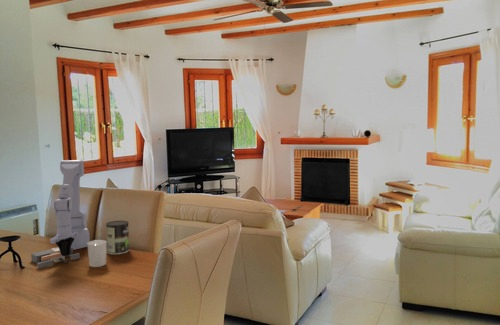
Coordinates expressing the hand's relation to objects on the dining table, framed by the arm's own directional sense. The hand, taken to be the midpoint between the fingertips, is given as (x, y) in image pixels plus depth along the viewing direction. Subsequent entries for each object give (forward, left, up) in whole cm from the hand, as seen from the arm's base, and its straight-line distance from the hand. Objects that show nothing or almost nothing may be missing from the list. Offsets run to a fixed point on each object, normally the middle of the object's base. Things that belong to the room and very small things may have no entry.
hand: (65, 255), depth 178 cm
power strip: (+3, -6, -3) cm, 7 cm away
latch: (+6, 0, 0) cm, 6 cm away
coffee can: (-23, +4, -3) cm, 24 cm away
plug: (+2, -1, -3) cm, 3 cm away
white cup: (-7, +14, -3) cm, 17 cm away
